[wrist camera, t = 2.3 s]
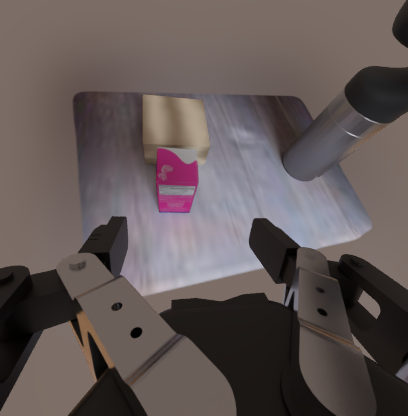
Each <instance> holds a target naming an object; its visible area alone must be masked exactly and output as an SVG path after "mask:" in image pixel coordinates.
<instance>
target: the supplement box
mask: <svg viewBox="0 0 408 416" xmlns="http://www.w3.org/2000/svg"><path fill="white" fill-rule="evenodd" d="M156 186H157V195H158V204H159V212H179V213H189V212H190V209H191V206H192V202H193V199H194V196H195V193H196V189H197V186H198V163H197V150H196V149H178V148H165V147H158V148H157V166H156Z"/></svg>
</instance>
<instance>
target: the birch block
mask: <svg viewBox="0 0 408 416" xmlns="http://www.w3.org/2000/svg"><path fill="white" fill-rule="evenodd" d="M158 147H165V148H178V149H196V150H197V163H198V164H204V163H205V160H206V157H207V154H208V151H209V149H210V142H209V136H208V130H207V123H206V117H205V111H204V104H203V100H196V99H185V98H175V97H165V96H154V95H144V94H143V149H144V156H145V163H148V164H157V148H158Z"/></svg>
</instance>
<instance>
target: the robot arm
mask: <svg viewBox="0 0 408 416" xmlns="http://www.w3.org/2000/svg"><path fill="white" fill-rule="evenodd" d="M392 31H393V34H394V36H395V38H396V39H397V40H398V41H399V42H400V43H401V44H402V45H404V46H405V47H407V48H408V0H406V2H405V3H404V5H403V6H402V8H401V9H400V11H399V13H398V14H397V16H396V18H395V21H394V23H393V27H392ZM406 112H408V67H406V68H389V67H380V66H370V67H366V68H364V69H362V70H360V71H359V72H358V73H357V74H356V75H355V76H354V77H353V78H352V79H351V80H350V81H349V82H348V83H347V85H346V86H345V87H344V88H343V89H342V90H341V91H340V92H339V94H338V95H337V96H336V97H335V98H334V99H333V100H332V101H331V102H330V104H329V105H328V106H327V107H326V108H325V109H324V110H323V111H322V112H321V114H320V115H319V116H318V117H317V118H316V119H315V120H314V121H313V122H312V123H311V124H310V126H309V127H308V128H307V129H306V130H305V131H304V132H303V133H302V134H301V136H300V137H299V138H298V139H297V140H296V141H295V142H294V143H293V144H292V145H291V147H290V148H289V149H288V150H287V151H286V152H285V153H284V155H283V165H284V167H285V169H286V170H287V172H288V173H289V174H290V175H291V176H293V177H294V178H296V179H298V180H301V181H310V180H313V179H314V178H315V177H320V176H321V175H322V174H324V173H325V172H327V171H328V170H329V169H331V168H332V167H334V166H335V165H336V164H338V163H339V162H341V161H342V160H343V159H345V158H346V157H347V156H349V155H350V154H352V153H353V152H354V151H355V149H356V148H357V147H358V146H360V145H361V144H362V143H364V142H365V141H367V140H368V139H370V138H371V137H372V136H374V135H375V134H376V133H378V132H379V131H381V130H382V129H383V128H385V127H386V126H387V125H389V124H390V123H392V122H393V121H394V120H396V119H397V118H399V117H400V116H401V115H403V114H405V113H406ZM249 245H250V248H251V249H252V251H253V252H254V254H255V255H256V257H257V258H258V259H259V261H260V262H261V264H262V265H263V266H264V268H265V269H266V271H267V272H268V273H269V275H270V276H271V278H272V279H273V281H274V282H275V283H276V284H281V283H285V284H286V286H285V289H284V295H283V303H282V304H281V303H278V302H274V301H269V300H268V299H267V297H266V295H265V293H255V294H243V295H240V296H237V297H234V298H231V299H228V300H225V301H214V300H207V299H198V298H191V299H178V300H172V303H171V309H168V310H166V311H163V312H161V313H160V314H158V313H157V312H156V311H155V310H154V309H153V308H152V307H151V306H150V305H149V304H148V302H147V301H146V300H145V299H144V298H143V297H142V296H141V295H140V294H139V292H138V291H137V290H136V289H135V288H134V287H133V286H132V285H131V284H130V283H129V282H128V280H127V279H126V278H125V277H124V276H122V275H120V272H121V269H122V266H123V263H124V259H125V256H126V253H127V249H128V229H127V218H126V217H114V216H112V217H111V219H110V221H109V222H108V224H107V225H100V226H99V227H97V228H96V229H94V231H93V232H92V233H91V236H89V238H88V240H87V241H86V242H85V243H84V245H83V246H82V248H81V249H80V251H79V252H78V254H74V255H71V256H69V257H66V258H65V259H63V260H62V261H60V262H59V263H58V265H57V267H56V269H55V270H51V271H47V272H42V273H38V274H33V275H30V272H29V269H28V268H27V267H25V266H10V267H4V268H1V269H0V411H1V409H2V407H3V405H4V403H5V401H6V400H7V398H8V396H9V394H10V392H11V390H12V388H13V386H14V385H15V383H16V381H17V379H18V377H19V375H20V373H21V371H22V370H23V368H24V366H25V364H26V362H27V360H28V358H29V356H30V354H31V353H32V350H33V348H34V347H35V345H36V343H37V341H38V339H39V338H40V336H41V334H42V332H43V330H44V329H47V328H50V327H53V326H56V325H59V324H62V323H65V322H68V321H69V323H70V326H71V328H72V330H73V332H74V334H75V337H76V339H77V341H78V343H79V345H80V347H81V349H82V351H83V354H84V356H85V358H86V361H87V364H88V367H89V370H90V373H91V376H92V378H93V380H94V383H95V384H94V385H93V386H92V388H91V389H90V390H89V391H88V392H87V393H86V395H85V396H84V397H83V398H82V400H81V401H80V402H79V403H78V404H77V405H76V407H75V408H74V409H73V410H72V411H71V412H70V414H69V415H68V416H408V290H407V289H406V288H404V287H403V286H401V285H400V284H399V283H397V282H396V281H394V280H393V279H391V278H390V277H389V276H387V275H386V274H384V273H383V272H381V271H380V270H378V269H377V268H376V267H374V266H373V265H371V264H370V263H369V262H367V261H365V260H364V259H362V258H359V257H357V256H353V255H348V254H344V255H342V256H341V258H340V260H339V262H335V261H329V260H327V259H326V257H325V256H324V255H323V254H322V253H320V252H318V251H316V250H314V249H311V248H307V247H300V246H299V245H298V244H297V243H296V242H295V241H294V240H292V239H291V238H290V237H289V236H288V235H287V234H286V233H284V232H283V231H282V230H281V229H279V228H278V227H276V226H274V225H273V224H272V223H271V222H270V221H269V220H268V219H266V218H255V219H254V220H253V223H252V228H251V232H250V237H249ZM363 290H364V291H365V292H366V293H367V294H368V295H370V296H371V297H372V298H373V299H374V300H375V301H376V302H377V303H378V304H379V306H380V310H381V312H380V315H379V316H378V318H377V319H376V318H375V317H373V316H372V315H371V314H370V313H369V312H368V311H367V310H366V309H365V308H364V307H363V306H362V305H361V304H360V303H359V302H358V300H359V297H360V296H361V294H362V292H363ZM351 333H352V334H353V335H354V336H355V337H356V339H357V340H358V341H359V342H360V343H361V344H362V346H363V347H364V348H365V349H366V350H367V352H368V353H369V354H370V355H371V356H372V357H373V359H374V360H375V361H376V362H377V363H378V364H377V363H376V362H374V361H373V360H371V359H370V358H368V357H366V356H365V355H363V353H362V351H361V350H360V349H359V347H357V346H356V345H355V344H354V342H353V338H352V334H351Z"/></svg>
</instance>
